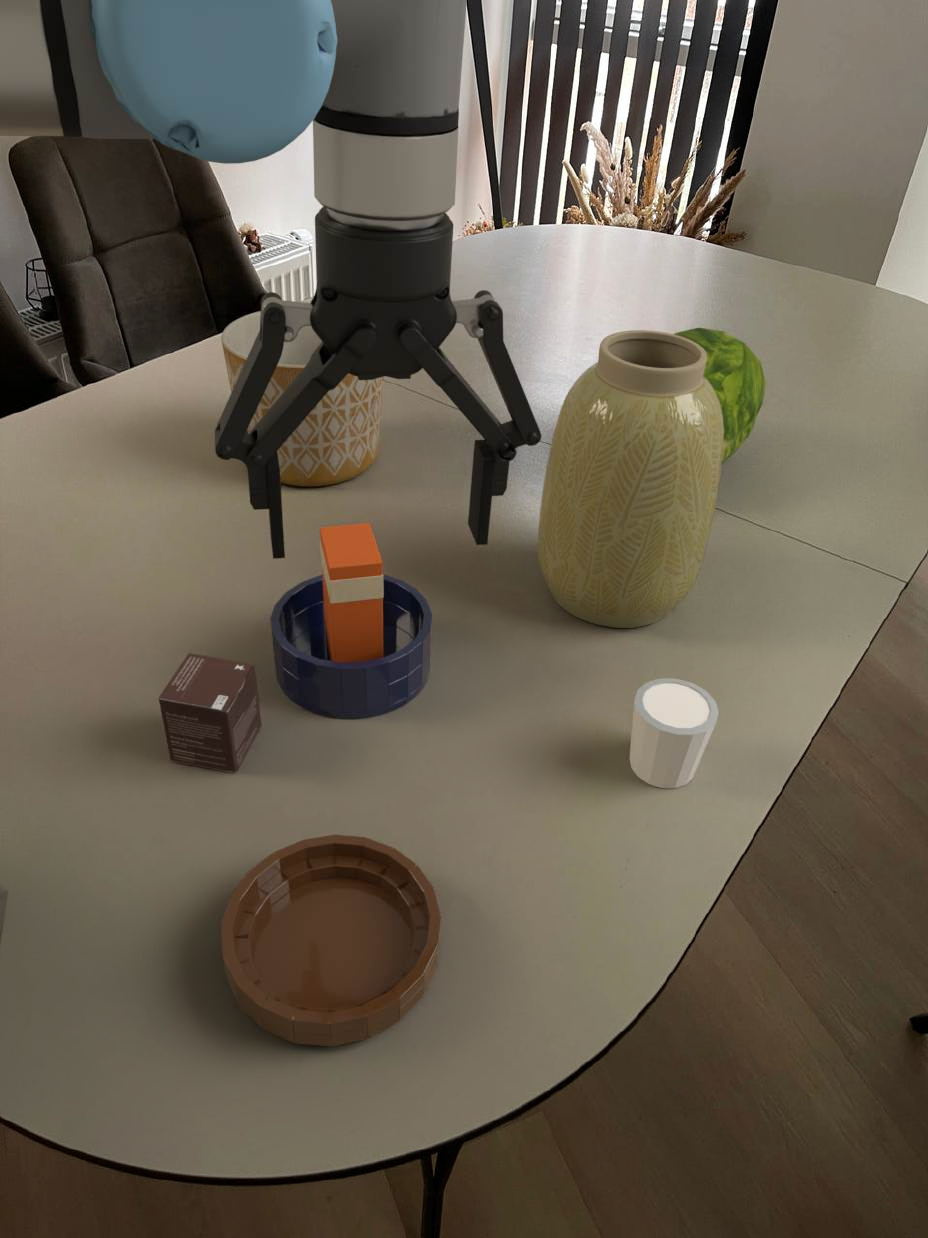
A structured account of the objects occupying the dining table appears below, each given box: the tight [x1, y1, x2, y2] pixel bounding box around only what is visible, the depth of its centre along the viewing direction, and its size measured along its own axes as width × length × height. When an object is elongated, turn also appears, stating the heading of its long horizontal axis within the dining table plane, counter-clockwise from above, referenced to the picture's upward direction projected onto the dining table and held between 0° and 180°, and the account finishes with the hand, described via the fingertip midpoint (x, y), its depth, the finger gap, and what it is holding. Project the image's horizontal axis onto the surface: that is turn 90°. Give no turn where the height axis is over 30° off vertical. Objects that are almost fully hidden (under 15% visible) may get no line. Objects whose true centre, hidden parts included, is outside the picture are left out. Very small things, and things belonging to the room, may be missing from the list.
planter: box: [220, 310, 384, 487], centre depth 118 cm, size 19×19×16 cm
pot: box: [269, 573, 433, 720], centre depth 89 cm, size 15×15×6 cm
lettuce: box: [673, 327, 767, 466], centre depth 120 cm, size 17×23×16 cm
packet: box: [319, 522, 384, 663], centre depth 86 cm, size 5×7×13 cm
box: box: [157, 652, 263, 774], centre depth 79 cm, size 6×6×7 cm
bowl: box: [220, 834, 442, 1047], centre depth 65 cm, size 15×15×4 cm
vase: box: [537, 329, 724, 629], centre depth 94 cm, size 17×17×27 cm
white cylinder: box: [629, 677, 720, 789], centre depth 80 cm, size 7×7×7 cm
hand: (379, 540), depth 64 cm, fingers open, 13 cm apart
